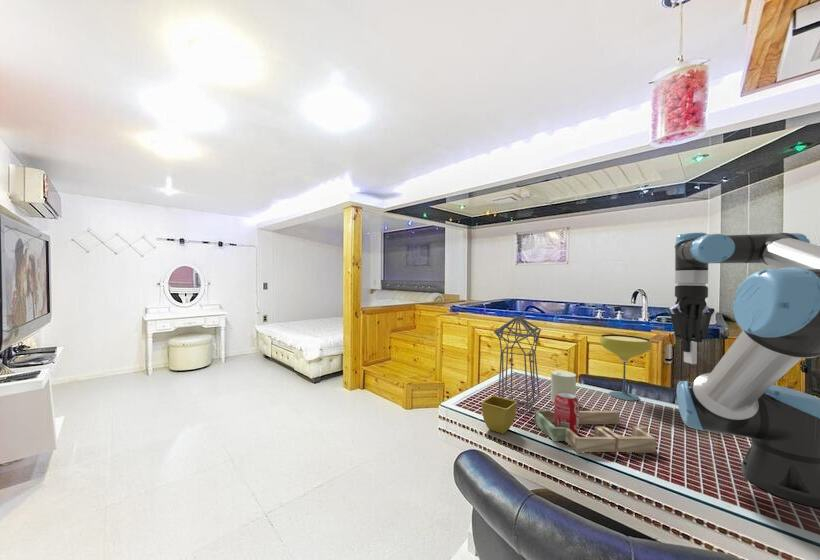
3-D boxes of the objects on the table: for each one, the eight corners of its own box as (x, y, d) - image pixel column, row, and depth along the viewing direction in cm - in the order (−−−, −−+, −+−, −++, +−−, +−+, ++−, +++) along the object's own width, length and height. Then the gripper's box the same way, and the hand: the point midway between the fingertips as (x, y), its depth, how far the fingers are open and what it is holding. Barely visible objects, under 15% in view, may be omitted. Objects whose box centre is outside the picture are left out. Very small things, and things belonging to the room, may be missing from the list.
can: (545, 399, 129) (545, 370, 129) (561, 396, 133) (561, 368, 133) (565, 408, 121) (565, 376, 121) (581, 404, 125) (581, 374, 125)
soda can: (573, 427, 104) (574, 391, 104) (582, 438, 97) (582, 399, 97) (551, 425, 105) (551, 390, 106) (558, 436, 98) (558, 397, 99)
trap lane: (664, 452, 90) (664, 436, 90) (564, 453, 88) (564, 437, 88) (617, 422, 109) (617, 409, 109) (534, 422, 107) (534, 409, 107)
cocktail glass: (615, 403, 126) (616, 341, 126) (591, 388, 144) (591, 333, 144) (661, 405, 125) (662, 342, 125) (631, 389, 143) (632, 334, 143)
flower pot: (492, 420, 109) (492, 394, 109) (517, 428, 103) (517, 401, 103) (480, 430, 102) (480, 402, 102) (506, 438, 96) (507, 409, 96)
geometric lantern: (537, 419, 110) (535, 319, 110) (492, 410, 118) (491, 317, 119) (544, 404, 124) (542, 315, 124) (503, 397, 132) (502, 313, 132)
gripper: (699, 285, 99) (698, 359, 99) (659, 284, 99) (659, 359, 99) (724, 285, 92) (723, 366, 92) (681, 284, 91) (680, 366, 91)
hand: (690, 362), depth 95 cm, fingers closed
